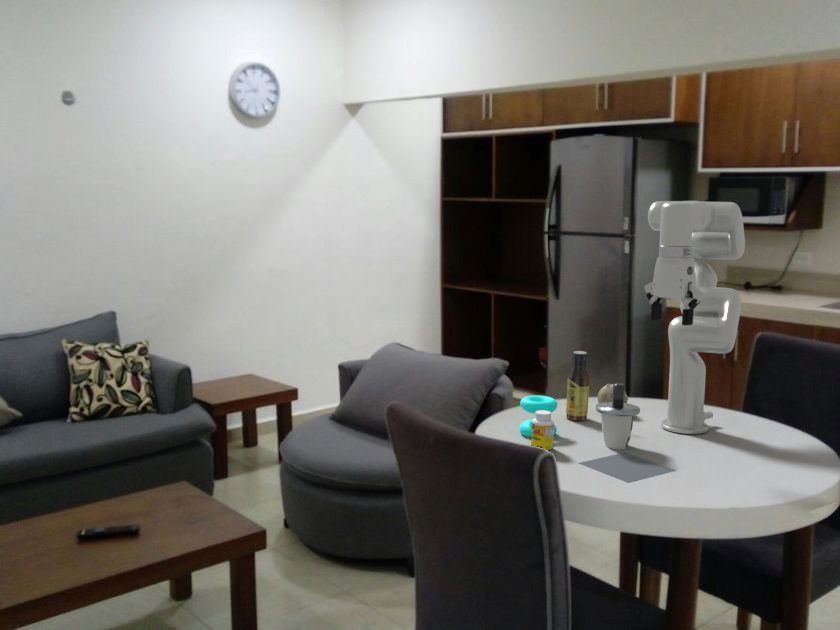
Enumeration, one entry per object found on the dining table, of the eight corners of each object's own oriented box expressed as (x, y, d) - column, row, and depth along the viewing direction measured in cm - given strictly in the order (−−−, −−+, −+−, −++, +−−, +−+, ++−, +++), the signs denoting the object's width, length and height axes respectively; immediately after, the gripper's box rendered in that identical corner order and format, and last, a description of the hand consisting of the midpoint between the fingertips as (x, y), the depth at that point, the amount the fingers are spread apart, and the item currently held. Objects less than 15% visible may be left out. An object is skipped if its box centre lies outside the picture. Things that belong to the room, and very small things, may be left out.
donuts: (520, 402, 217) (519, 393, 227) (519, 439, 219) (519, 428, 229) (558, 403, 216) (556, 394, 226) (557, 440, 218) (555, 430, 228)
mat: (625, 454, 206) (625, 452, 206) (676, 472, 193) (676, 470, 193) (578, 465, 197) (578, 463, 197) (628, 485, 184) (628, 482, 184)
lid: (616, 403, 217) (617, 377, 216) (649, 412, 208) (650, 386, 207) (586, 408, 211) (587, 382, 210) (619, 418, 202) (620, 391, 201)
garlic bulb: (625, 423, 244) (636, 394, 240) (598, 419, 243) (608, 390, 238) (616, 406, 252) (626, 378, 248) (590, 402, 251) (600, 374, 247)
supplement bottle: (526, 449, 210) (527, 410, 208) (545, 447, 212) (546, 408, 210) (538, 455, 205) (540, 416, 203) (557, 453, 207) (558, 413, 205)
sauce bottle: (563, 416, 242) (565, 349, 239) (583, 415, 242) (586, 349, 240) (569, 422, 235) (572, 354, 232) (590, 421, 236) (593, 353, 233)
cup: (635, 453, 207) (637, 414, 206) (603, 452, 207) (604, 414, 206) (628, 443, 215) (629, 406, 214) (597, 443, 215) (598, 406, 214)
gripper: (714, 255, 196) (710, 326, 198) (657, 250, 210) (654, 316, 213) (693, 256, 192) (689, 328, 194) (637, 251, 206) (634, 319, 209)
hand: (671, 322), depth 203 cm, fingers open, 9 cm apart
